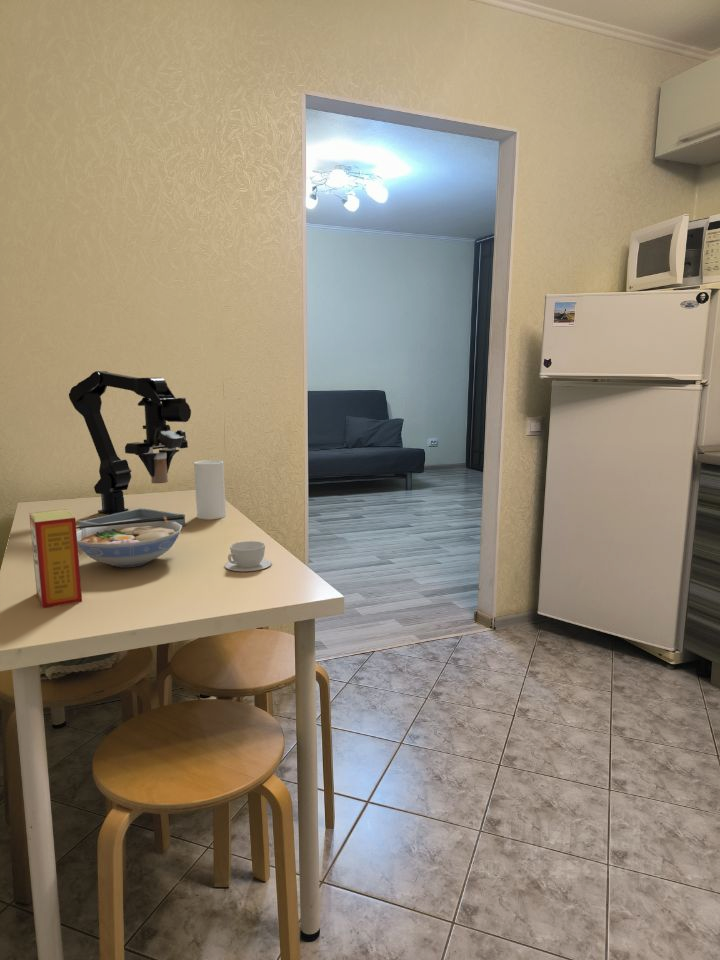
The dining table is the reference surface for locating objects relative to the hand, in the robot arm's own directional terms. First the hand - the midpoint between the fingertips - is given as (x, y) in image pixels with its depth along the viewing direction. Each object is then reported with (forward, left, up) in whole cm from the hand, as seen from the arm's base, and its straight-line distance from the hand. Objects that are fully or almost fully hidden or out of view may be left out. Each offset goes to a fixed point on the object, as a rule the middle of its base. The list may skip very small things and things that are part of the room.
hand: (159, 475), depth 191 cm
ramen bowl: (+33, -38, -12) cm, 51 cm away
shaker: (0, 0, -2) cm, 2 cm away
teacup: (+57, -26, -12) cm, 64 cm away
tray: (+7, -16, -12) cm, 21 cm away
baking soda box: (+40, -59, -12) cm, 73 cm away
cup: (+14, +6, -12) cm, 19 cm away
